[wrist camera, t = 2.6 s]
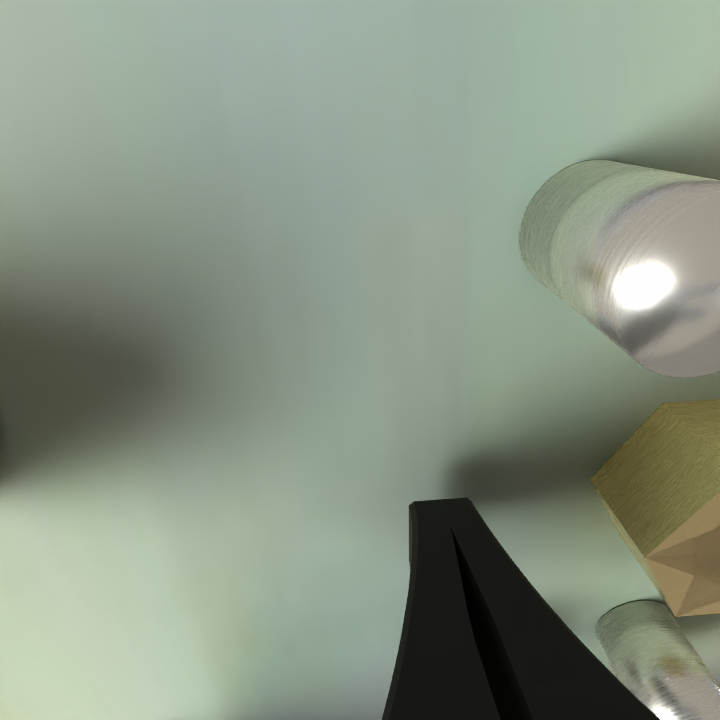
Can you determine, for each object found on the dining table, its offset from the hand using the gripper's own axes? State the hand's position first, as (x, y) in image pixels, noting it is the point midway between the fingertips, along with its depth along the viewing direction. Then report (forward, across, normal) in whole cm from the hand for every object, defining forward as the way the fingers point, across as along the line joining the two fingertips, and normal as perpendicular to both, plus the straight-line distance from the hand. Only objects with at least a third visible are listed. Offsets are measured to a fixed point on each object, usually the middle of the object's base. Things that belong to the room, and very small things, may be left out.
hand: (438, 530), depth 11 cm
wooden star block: (+1, -7, 0) cm, 7 cm away
